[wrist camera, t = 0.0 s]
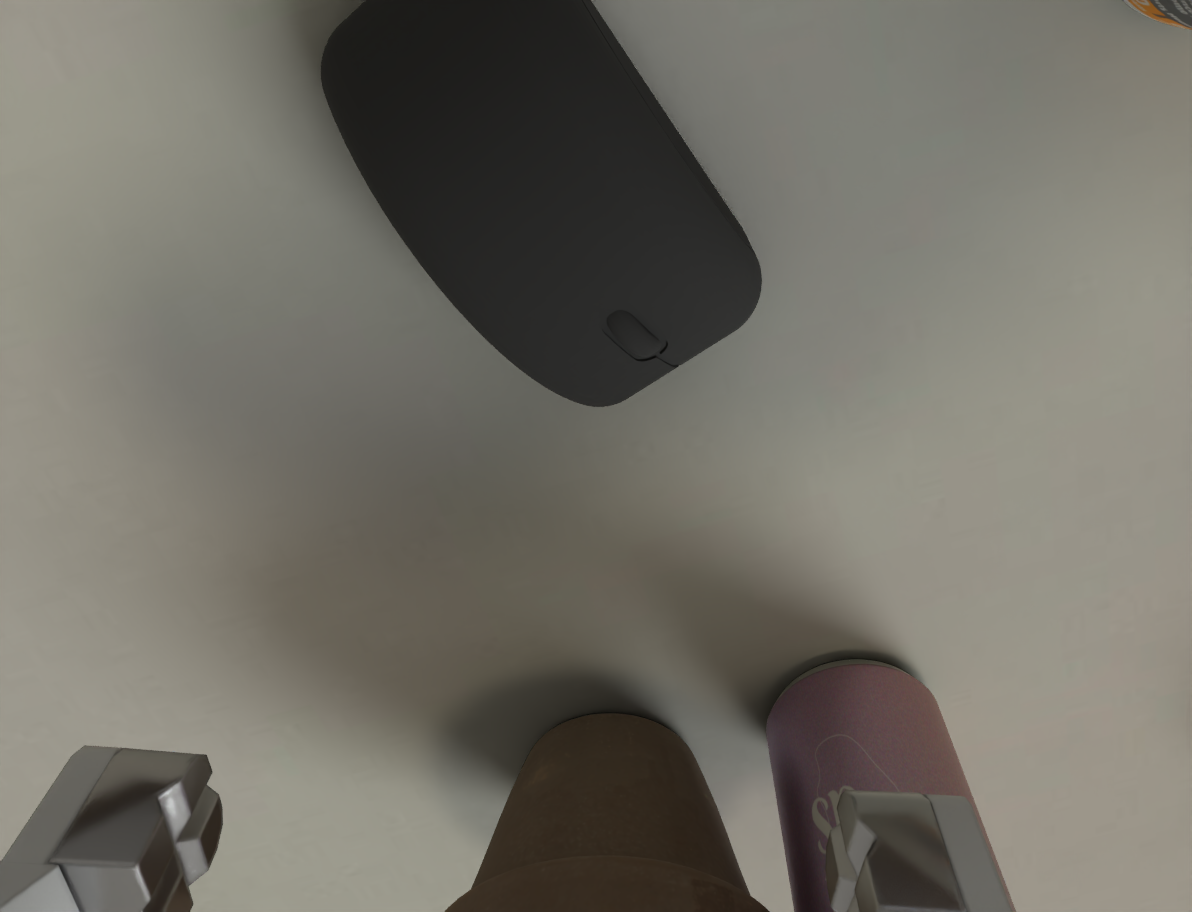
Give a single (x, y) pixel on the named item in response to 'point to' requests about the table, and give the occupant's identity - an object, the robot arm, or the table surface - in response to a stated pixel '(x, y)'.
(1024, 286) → the table surface
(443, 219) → the computer mouse
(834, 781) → the beverage can
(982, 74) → the table surface
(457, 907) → the flower pot
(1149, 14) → the pill bottle
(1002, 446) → the table surface
